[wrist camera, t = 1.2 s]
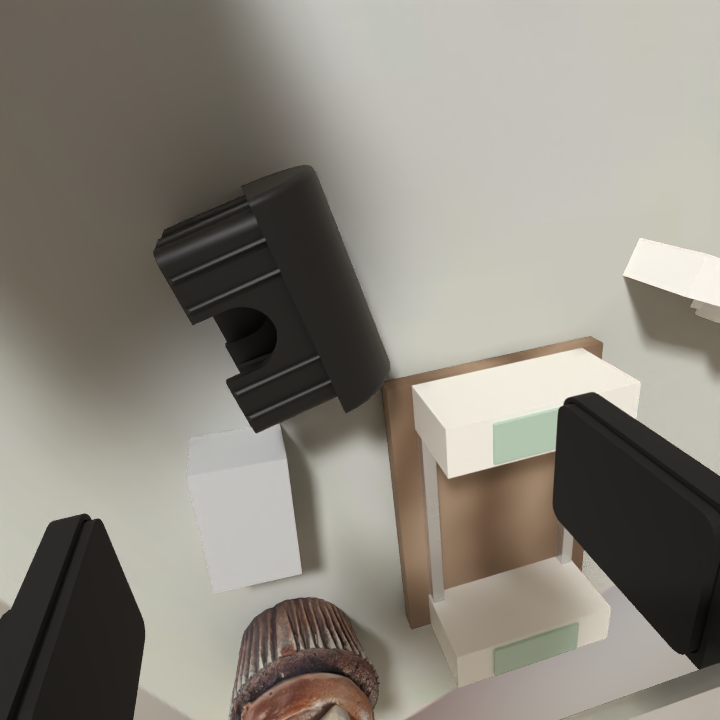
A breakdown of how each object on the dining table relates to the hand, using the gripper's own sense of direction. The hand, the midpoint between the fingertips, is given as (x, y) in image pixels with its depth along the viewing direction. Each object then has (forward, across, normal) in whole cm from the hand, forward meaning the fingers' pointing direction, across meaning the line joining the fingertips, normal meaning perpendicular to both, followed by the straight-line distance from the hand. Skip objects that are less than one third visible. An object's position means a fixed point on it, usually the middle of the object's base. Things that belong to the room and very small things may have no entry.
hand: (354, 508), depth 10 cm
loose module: (+18, +4, +12) cm, 22 cm away
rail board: (+18, -12, +17) cm, 28 cm away
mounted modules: (+17, -12, +17) cm, 27 cm away
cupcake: (+18, +3, +26) cm, 32 cm away
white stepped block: (+19, -27, +6) cm, 33 cm away
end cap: (+18, 0, 0) cm, 19 cm away
